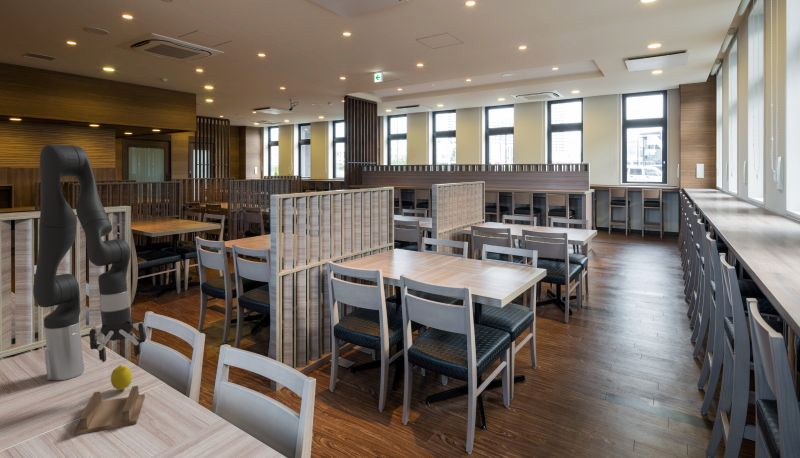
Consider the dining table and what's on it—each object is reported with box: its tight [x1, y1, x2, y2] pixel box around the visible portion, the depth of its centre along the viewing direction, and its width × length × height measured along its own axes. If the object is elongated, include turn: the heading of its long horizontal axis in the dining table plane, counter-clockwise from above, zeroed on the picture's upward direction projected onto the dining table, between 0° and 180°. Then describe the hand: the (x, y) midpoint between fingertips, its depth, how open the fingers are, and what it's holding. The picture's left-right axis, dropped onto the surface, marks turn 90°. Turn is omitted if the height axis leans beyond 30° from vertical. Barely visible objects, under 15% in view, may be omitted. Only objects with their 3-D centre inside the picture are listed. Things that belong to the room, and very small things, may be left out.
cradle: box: [73, 385, 146, 436], centre depth 126 cm, size 14×15×4 cm
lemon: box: [110, 364, 133, 391], centre depth 139 cm, size 6×6×8 cm
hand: (120, 358), depth 138 cm, fingers open, 8 cm apart
